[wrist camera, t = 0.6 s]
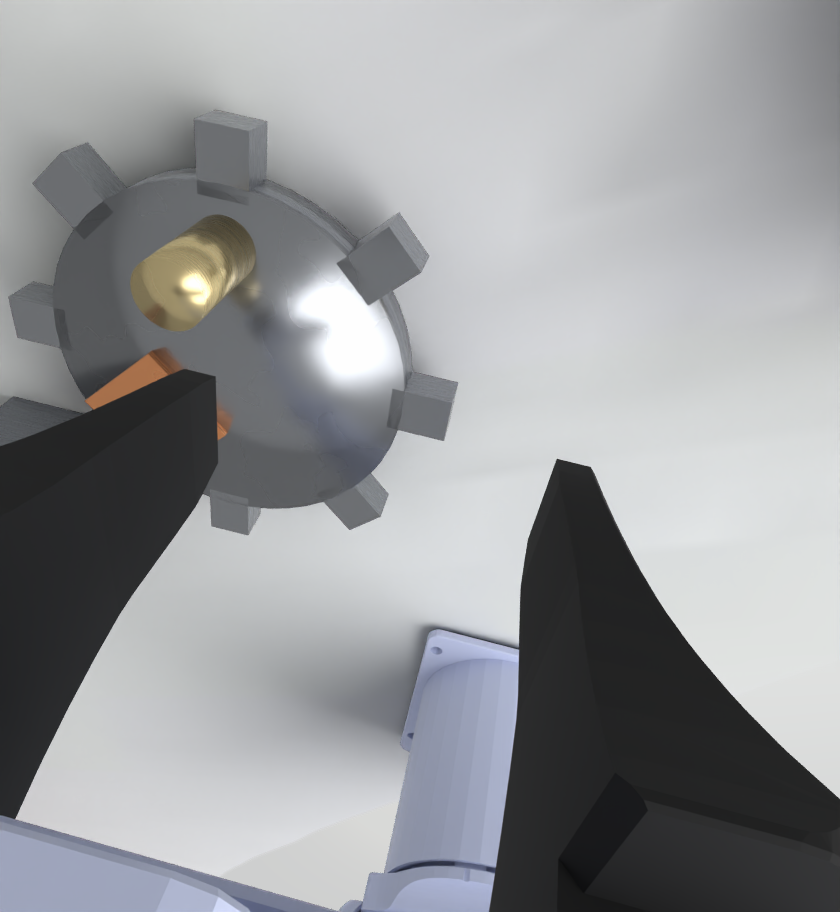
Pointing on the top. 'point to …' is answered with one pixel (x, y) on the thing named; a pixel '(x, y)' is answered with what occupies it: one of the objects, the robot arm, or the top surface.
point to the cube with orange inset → (29, 418)
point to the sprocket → (241, 319)
